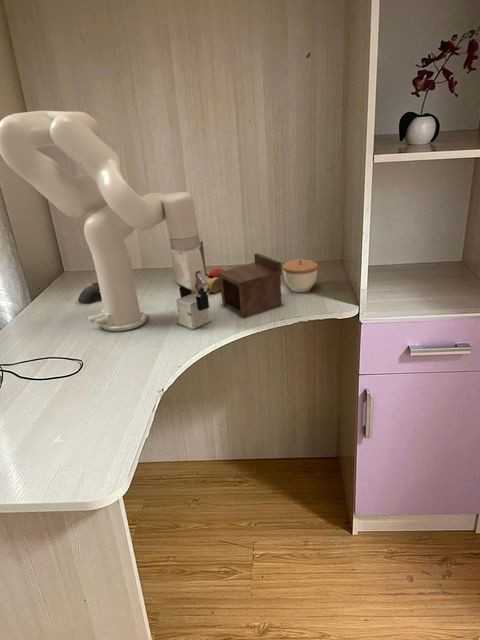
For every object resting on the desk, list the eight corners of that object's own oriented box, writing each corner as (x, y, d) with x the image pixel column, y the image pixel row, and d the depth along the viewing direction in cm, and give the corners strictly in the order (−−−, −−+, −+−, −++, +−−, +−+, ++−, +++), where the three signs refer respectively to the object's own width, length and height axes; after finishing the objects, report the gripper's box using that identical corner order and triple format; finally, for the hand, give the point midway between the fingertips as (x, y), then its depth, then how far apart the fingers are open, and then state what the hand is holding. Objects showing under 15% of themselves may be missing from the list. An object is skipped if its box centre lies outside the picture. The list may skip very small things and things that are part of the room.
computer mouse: (63, 298, 170) (61, 286, 168) (108, 281, 182) (106, 270, 180) (86, 305, 163) (83, 293, 161) (131, 288, 175) (128, 276, 173)
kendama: (196, 307, 160) (235, 282, 170) (189, 288, 157) (229, 263, 168) (180, 306, 165) (219, 281, 176) (173, 288, 162) (213, 264, 173)
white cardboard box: (178, 324, 146) (175, 299, 143) (195, 317, 150) (192, 292, 147) (193, 329, 143) (189, 304, 139) (209, 322, 146) (207, 297, 143)
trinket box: (316, 295, 160) (316, 265, 155) (281, 294, 162) (280, 265, 157) (319, 282, 169) (319, 254, 165) (286, 282, 171) (285, 254, 167)
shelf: (242, 318, 148) (238, 273, 142) (221, 305, 157) (216, 263, 151) (283, 305, 154) (281, 262, 148) (260, 294, 163) (257, 253, 157)
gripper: (158, 240, 141) (169, 300, 149) (187, 252, 128) (197, 317, 135) (183, 234, 144) (192, 292, 152) (214, 245, 131) (223, 308, 139)
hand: (195, 304), depth 144 cm, fingers open, 9 cm apart
